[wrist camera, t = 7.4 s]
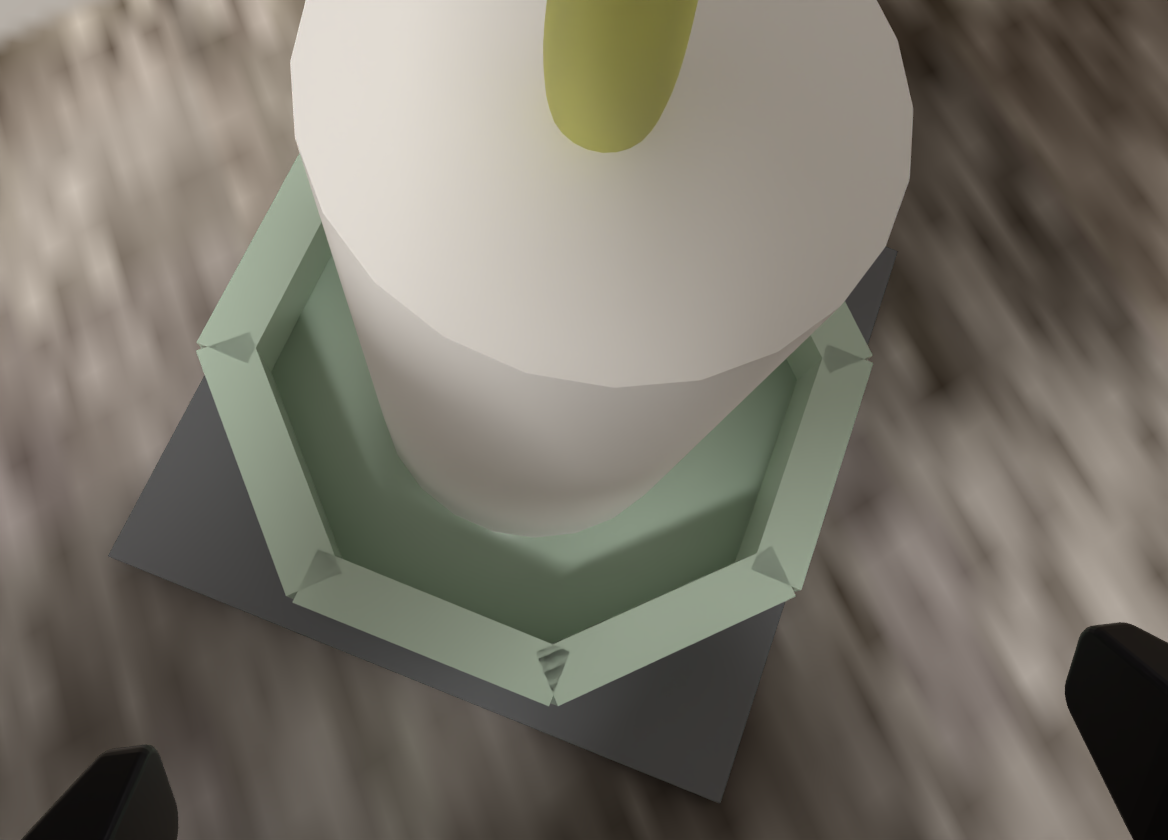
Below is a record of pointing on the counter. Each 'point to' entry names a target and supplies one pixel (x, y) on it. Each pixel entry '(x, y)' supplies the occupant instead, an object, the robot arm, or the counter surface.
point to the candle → (590, 222)
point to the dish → (492, 559)
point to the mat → (591, 721)
